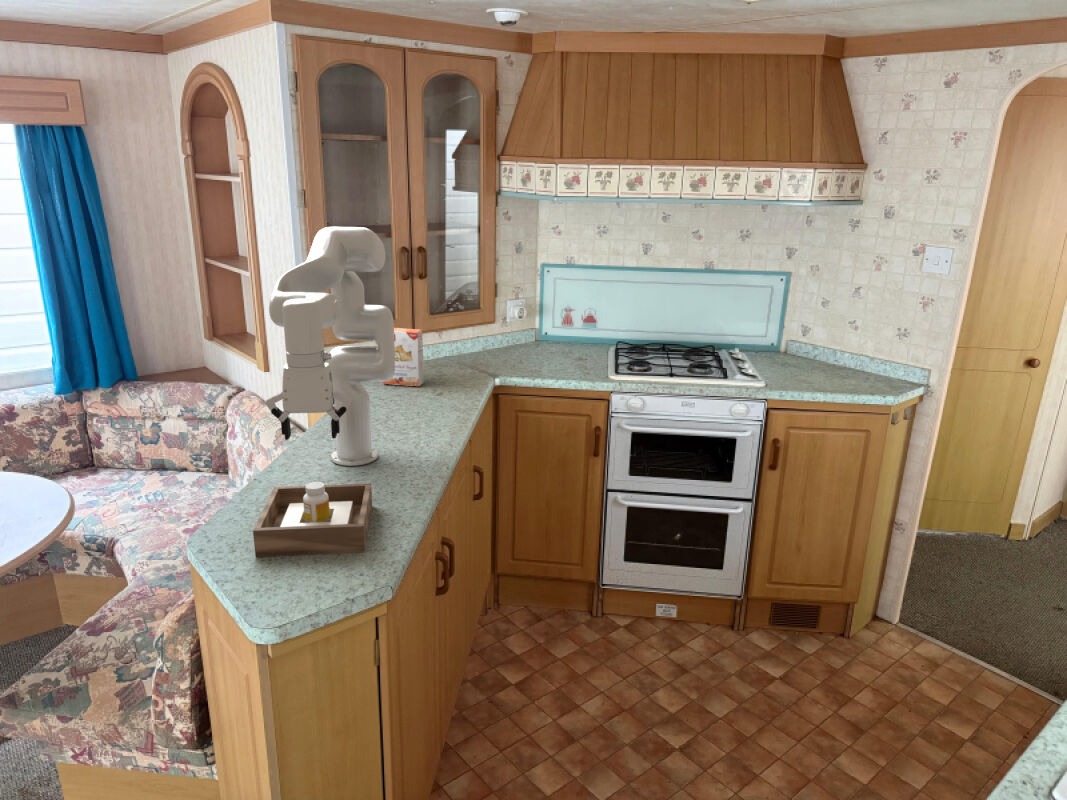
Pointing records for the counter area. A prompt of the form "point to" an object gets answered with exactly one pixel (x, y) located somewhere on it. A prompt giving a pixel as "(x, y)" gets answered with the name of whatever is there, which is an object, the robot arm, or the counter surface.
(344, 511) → the socket plate
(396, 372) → the cracker box
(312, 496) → the supplement bottle
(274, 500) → the open box
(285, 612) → the counter surface
